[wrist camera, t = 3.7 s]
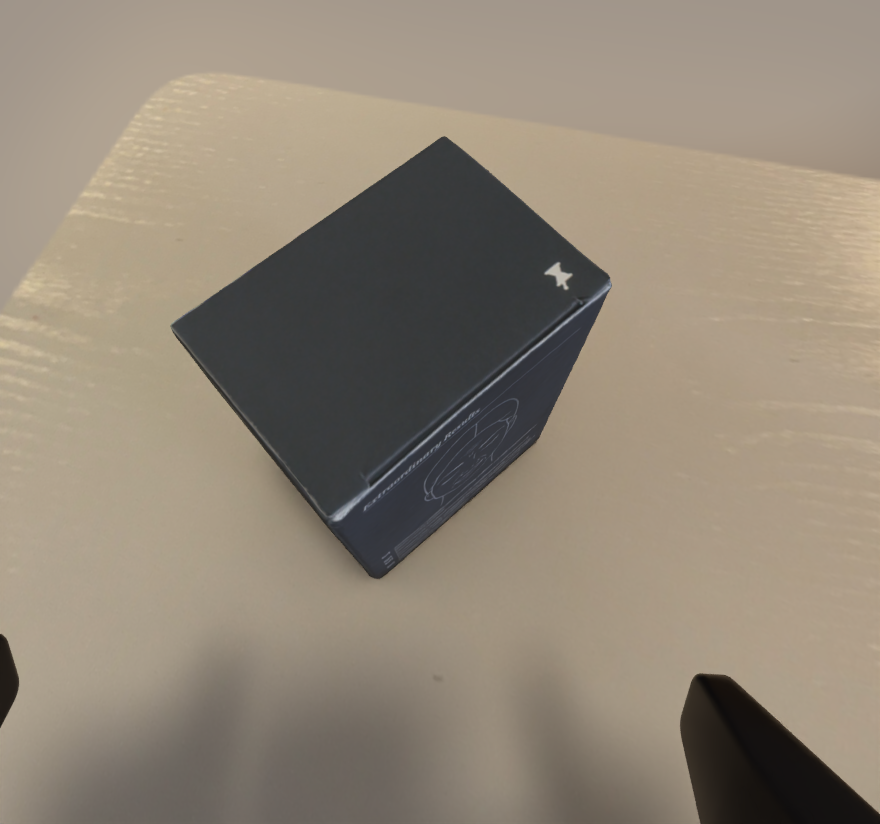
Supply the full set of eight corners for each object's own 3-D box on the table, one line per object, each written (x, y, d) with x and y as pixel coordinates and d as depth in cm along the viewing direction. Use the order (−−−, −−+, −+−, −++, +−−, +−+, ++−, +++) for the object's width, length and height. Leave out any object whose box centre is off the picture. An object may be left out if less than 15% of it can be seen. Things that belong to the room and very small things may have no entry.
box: (438, 336, 24) (447, 124, 15) (540, 440, 23) (626, 283, 13) (275, 464, 22) (156, 318, 13) (375, 586, 21) (330, 530, 11)
